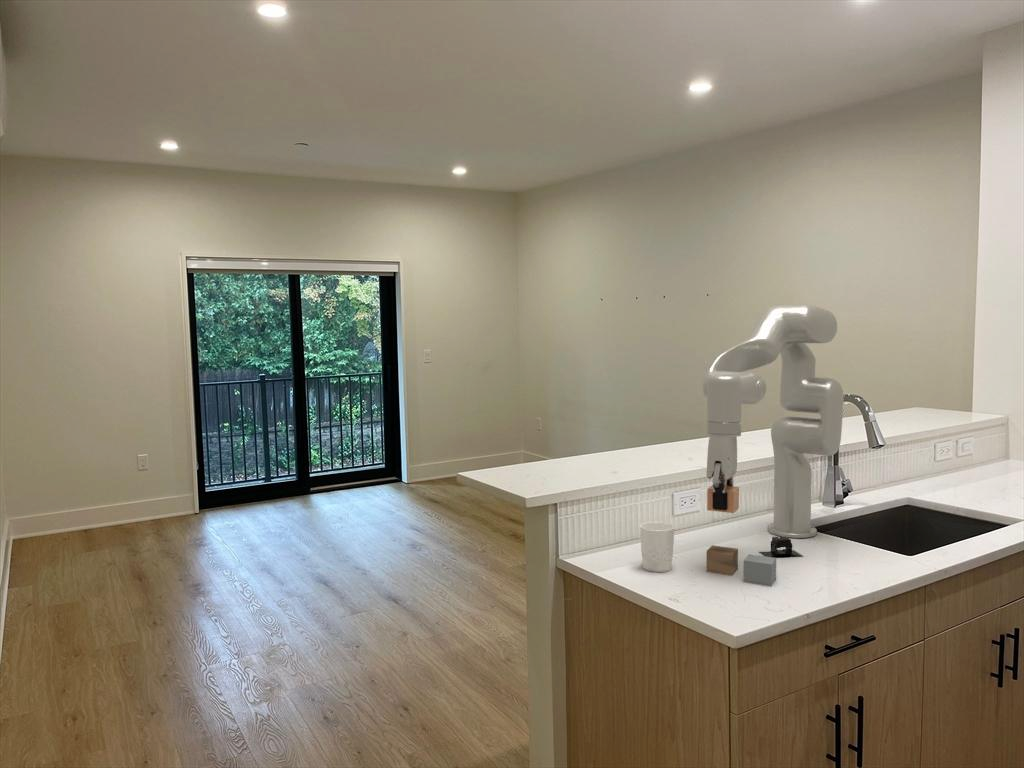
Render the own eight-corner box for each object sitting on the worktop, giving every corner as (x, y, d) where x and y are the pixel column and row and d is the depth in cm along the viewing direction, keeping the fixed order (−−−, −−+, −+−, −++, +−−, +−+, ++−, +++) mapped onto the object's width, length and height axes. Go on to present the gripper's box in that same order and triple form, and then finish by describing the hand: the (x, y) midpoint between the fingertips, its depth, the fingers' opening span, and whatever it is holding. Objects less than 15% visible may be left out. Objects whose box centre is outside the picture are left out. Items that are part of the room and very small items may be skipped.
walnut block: (712, 565, 175) (712, 545, 175) (738, 569, 172) (738, 548, 172) (706, 572, 171) (706, 551, 170) (732, 576, 168) (732, 554, 167)
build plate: (797, 550, 187) (798, 533, 187) (812, 560, 180) (813, 541, 179) (750, 553, 186) (751, 535, 185) (764, 562, 178) (764, 544, 178)
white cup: (669, 561, 178) (669, 521, 177) (677, 572, 170) (678, 530, 169) (637, 562, 178) (637, 522, 177) (644, 573, 170) (644, 531, 169)
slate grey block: (748, 575, 168) (748, 554, 168) (776, 579, 165) (776, 557, 165) (743, 582, 164) (743, 560, 163) (771, 586, 161) (771, 564, 160)
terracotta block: (712, 505, 174) (712, 484, 173) (738, 508, 171) (739, 487, 170) (707, 510, 170) (707, 488, 169) (733, 513, 167) (733, 491, 166)
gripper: (716, 423, 178) (716, 497, 179) (697, 432, 163) (696, 513, 165) (748, 425, 174) (747, 500, 176) (731, 434, 159) (730, 517, 161)
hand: (723, 506), depth 170 cm, fingers closed on terracotta block, 5 cm apart
